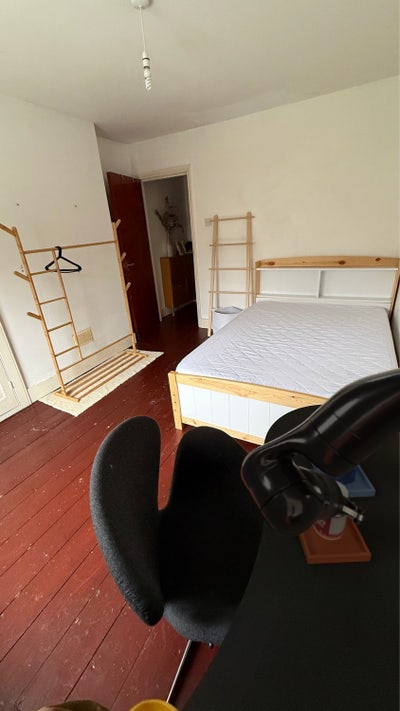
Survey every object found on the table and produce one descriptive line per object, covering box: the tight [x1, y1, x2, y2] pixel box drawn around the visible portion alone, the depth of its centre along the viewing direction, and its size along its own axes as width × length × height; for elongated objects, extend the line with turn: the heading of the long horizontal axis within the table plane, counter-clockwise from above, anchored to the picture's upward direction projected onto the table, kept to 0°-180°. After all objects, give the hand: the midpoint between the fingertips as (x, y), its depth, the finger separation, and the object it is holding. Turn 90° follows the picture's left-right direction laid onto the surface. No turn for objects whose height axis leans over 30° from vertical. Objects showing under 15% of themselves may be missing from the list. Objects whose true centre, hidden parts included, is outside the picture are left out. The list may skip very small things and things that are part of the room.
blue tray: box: [311, 463, 376, 499], centre depth 76 cm, size 11×11×2 cm
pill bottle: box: [313, 481, 348, 540], centre depth 61 cm, size 6×6×11 cm
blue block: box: [332, 468, 357, 485], centre depth 76 cm, size 4×4×4 cm
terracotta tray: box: [298, 516, 372, 565], centre depth 64 cm, size 12×12×2 cm
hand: (334, 498), depth 61 cm, fingers closed on pill bottle, 6 cm apart
